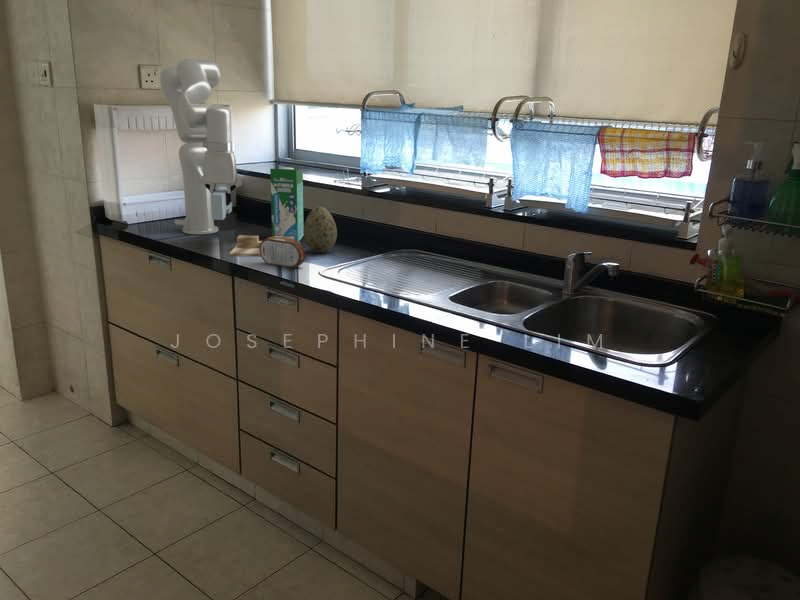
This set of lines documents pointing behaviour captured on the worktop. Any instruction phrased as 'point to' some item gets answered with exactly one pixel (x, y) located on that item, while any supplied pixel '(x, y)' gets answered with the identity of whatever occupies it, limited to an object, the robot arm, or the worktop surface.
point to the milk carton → (287, 202)
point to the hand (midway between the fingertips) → (221, 203)
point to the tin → (282, 252)
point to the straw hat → (250, 245)
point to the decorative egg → (320, 230)
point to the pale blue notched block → (219, 204)
